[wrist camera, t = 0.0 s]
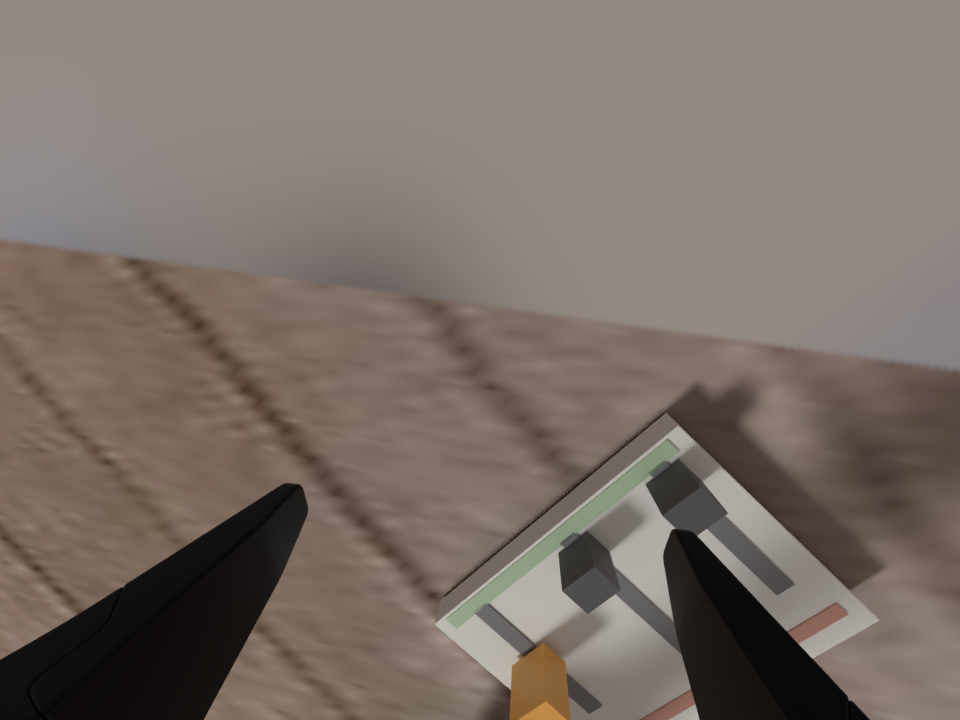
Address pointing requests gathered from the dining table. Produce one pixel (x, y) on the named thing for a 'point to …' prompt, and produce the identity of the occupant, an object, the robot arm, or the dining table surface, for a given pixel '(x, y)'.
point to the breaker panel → (638, 580)
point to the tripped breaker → (539, 687)
